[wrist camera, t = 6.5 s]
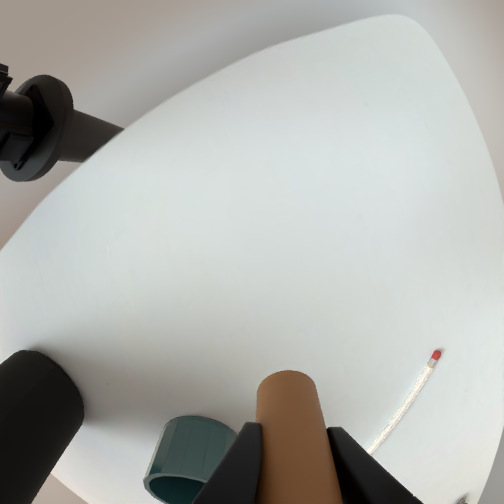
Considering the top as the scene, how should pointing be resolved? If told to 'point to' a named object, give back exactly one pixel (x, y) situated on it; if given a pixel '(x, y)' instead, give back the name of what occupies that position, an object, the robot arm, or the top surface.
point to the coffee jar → (34, 422)
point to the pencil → (406, 402)
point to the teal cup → (186, 458)
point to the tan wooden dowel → (294, 443)
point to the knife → (462, 501)
